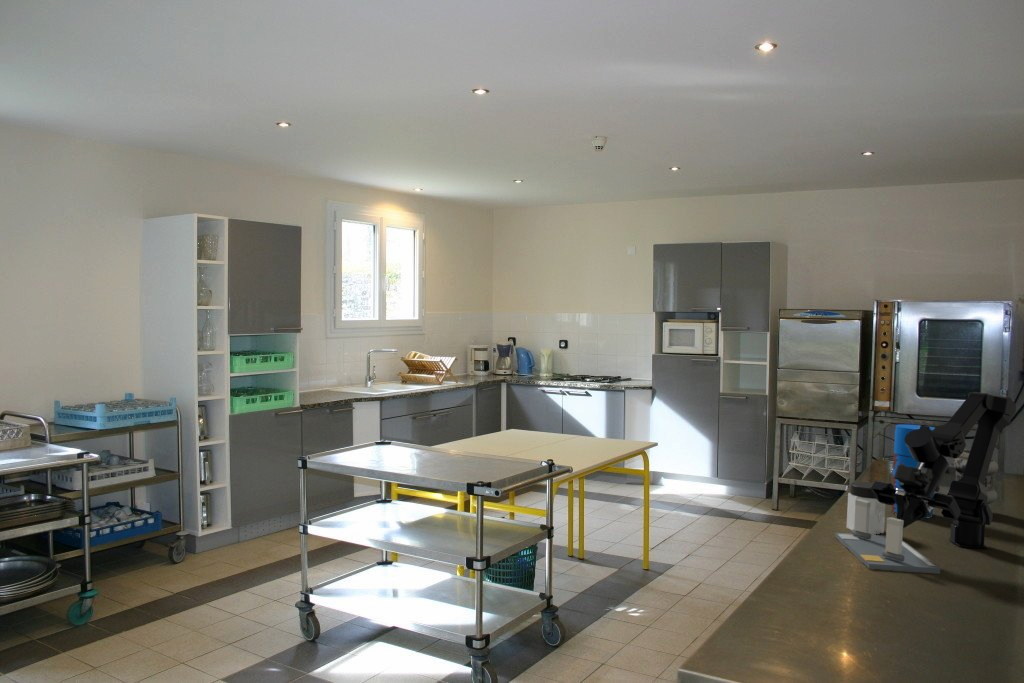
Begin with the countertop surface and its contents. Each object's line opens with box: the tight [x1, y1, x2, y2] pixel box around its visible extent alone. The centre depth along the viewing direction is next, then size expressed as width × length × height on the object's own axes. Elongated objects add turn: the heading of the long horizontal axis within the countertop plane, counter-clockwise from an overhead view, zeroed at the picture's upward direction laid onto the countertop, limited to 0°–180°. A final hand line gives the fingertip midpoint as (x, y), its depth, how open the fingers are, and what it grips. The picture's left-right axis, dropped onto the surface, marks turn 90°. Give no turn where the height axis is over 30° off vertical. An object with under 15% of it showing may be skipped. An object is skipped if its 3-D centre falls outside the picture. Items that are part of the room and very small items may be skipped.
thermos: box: [891, 424, 936, 519], centre depth 225 cm, size 11×11×25 cm
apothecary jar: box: [951, 448, 999, 505], centre depth 229 cm, size 12×12×18 cm
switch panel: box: [834, 532, 941, 575], centre depth 185 cm, size 15×25×1 cm, turn 174°
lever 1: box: [851, 499, 871, 539], centre depth 194 cm, size 2×4×9 cm, turn 34°
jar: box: [846, 481, 886, 535], centre depth 206 cm, size 9×8×12 cm
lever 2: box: [882, 516, 904, 562], centre depth 177 cm, size 2×4×9 cm, turn 34°
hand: (898, 528), depth 178 cm, fingers closed
